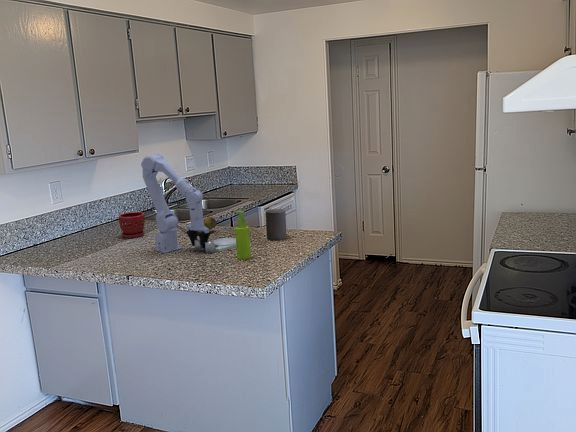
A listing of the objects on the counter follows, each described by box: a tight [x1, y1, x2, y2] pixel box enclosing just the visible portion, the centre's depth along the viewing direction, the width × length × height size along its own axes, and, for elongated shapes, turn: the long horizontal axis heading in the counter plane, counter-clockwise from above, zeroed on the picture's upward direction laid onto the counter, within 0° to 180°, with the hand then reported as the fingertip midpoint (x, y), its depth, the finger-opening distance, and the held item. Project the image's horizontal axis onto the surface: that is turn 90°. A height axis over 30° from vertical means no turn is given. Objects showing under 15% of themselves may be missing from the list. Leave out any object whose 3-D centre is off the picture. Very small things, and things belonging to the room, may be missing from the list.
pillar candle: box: [264, 208, 288, 242], centre depth 265 cm, size 10×10×15 cm
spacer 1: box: [194, 238, 205, 252], centre depth 253 cm, size 4×4×5 cm
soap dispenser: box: [232, 210, 252, 260], centre depth 234 cm, size 6×7×20 cm
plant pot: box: [118, 211, 146, 239], centre depth 291 cm, size 13×13×12 cm
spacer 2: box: [204, 240, 216, 255], centre depth 247 cm, size 4×4×5 cm
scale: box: [212, 237, 237, 253], centre depth 259 cm, size 16×15×2 cm
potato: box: [197, 216, 217, 236], centre depth 288 cm, size 8×13×8 cm, turn 110°
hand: (199, 246), depth 253 cm, fingers open, 7 cm apart
